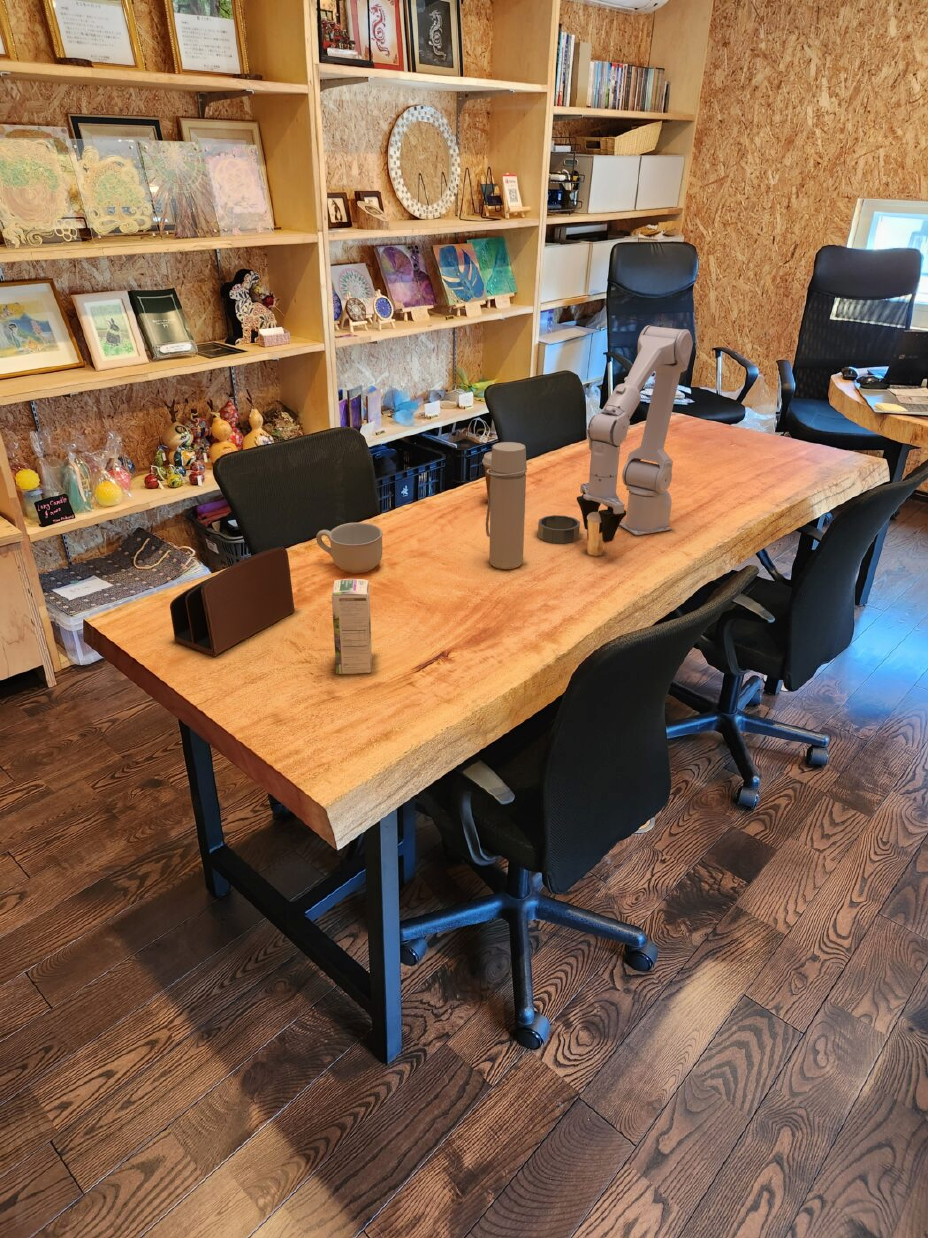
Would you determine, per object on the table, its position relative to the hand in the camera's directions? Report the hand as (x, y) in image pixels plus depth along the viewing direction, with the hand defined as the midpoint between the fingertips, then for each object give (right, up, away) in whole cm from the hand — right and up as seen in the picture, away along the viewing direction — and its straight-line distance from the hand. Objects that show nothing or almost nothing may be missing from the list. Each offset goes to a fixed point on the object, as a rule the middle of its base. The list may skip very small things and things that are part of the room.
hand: (598, 534), depth 176 cm
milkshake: (0, -4, +2) cm, 4 cm away
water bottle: (-21, -6, -3) cm, 22 cm away
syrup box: (-47, -26, -40) cm, 66 cm away
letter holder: (-69, -20, -28) cm, 77 cm away
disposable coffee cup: (-19, +11, +30) cm, 38 cm away
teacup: (-52, -7, -4) cm, 53 cm away
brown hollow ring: (-7, +1, +11) cm, 13 cm away
